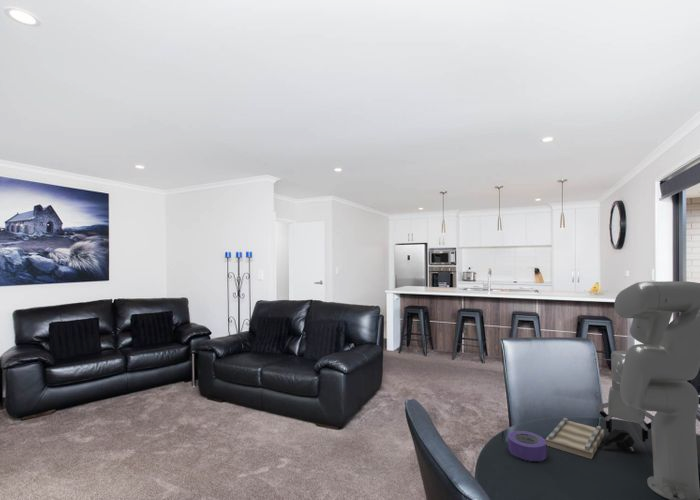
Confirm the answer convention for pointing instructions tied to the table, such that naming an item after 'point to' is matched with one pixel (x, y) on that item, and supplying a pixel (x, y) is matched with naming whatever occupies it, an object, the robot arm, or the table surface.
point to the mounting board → (576, 438)
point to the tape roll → (527, 445)
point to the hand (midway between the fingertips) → (626, 435)
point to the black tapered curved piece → (619, 439)
